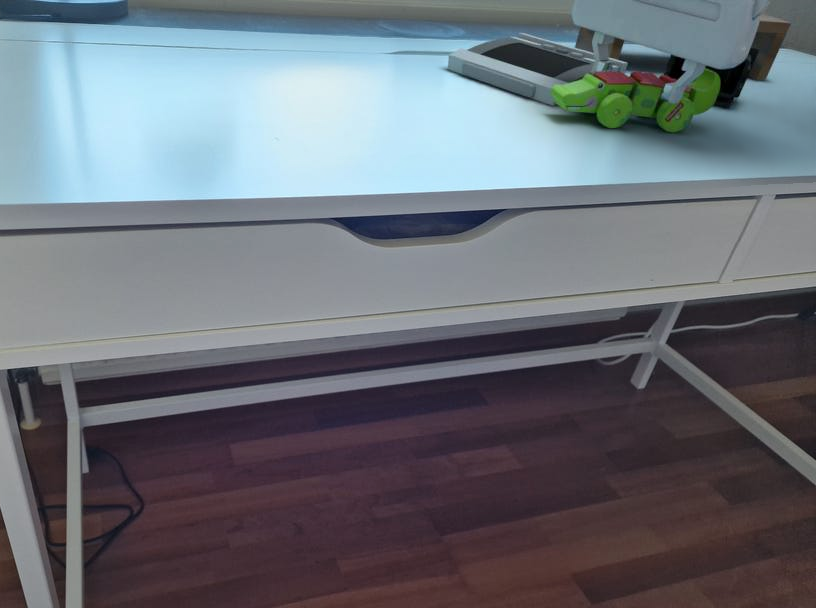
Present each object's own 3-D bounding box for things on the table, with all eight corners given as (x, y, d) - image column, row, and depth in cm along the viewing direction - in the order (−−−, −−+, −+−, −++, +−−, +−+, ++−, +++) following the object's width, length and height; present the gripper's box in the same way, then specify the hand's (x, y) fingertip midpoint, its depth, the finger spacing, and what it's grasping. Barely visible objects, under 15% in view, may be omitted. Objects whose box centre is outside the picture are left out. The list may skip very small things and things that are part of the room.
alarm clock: (628, 62, 88) (561, 65, 78) (614, 99, 91) (548, 106, 81) (522, 33, 98) (451, 32, 88) (513, 66, 100) (443, 69, 91)
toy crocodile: (557, 126, 75) (573, 70, 71) (538, 107, 80) (552, 54, 77) (718, 135, 78) (742, 80, 74) (689, 116, 83) (710, 64, 79)
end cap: (737, 98, 92) (761, 45, 88) (733, 110, 87) (758, 54, 83) (662, 82, 95) (681, 30, 91) (654, 93, 90) (674, 38, 86)
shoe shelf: (765, 80, 101) (798, 7, 95) (605, 70, 98) (629, -6, 92) (721, 59, 111) (749, -8, 105) (573, 50, 107) (593, -21, 101)
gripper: (799, -31, 64) (731, 115, 72) (620, -66, 76) (579, 62, 84) (768, -33, 60) (700, 121, 69) (586, -69, 73) (547, 65, 81)
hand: (632, 88), depth 77 cm, fingers closed on toy crocodile, 8 cm apart
